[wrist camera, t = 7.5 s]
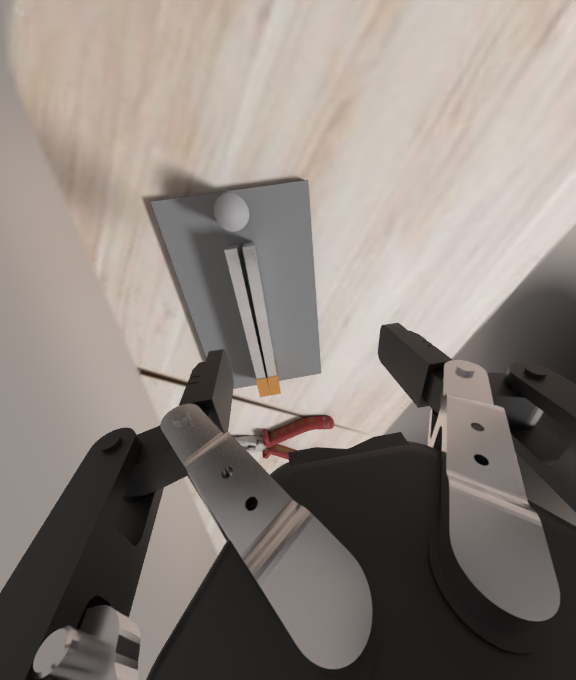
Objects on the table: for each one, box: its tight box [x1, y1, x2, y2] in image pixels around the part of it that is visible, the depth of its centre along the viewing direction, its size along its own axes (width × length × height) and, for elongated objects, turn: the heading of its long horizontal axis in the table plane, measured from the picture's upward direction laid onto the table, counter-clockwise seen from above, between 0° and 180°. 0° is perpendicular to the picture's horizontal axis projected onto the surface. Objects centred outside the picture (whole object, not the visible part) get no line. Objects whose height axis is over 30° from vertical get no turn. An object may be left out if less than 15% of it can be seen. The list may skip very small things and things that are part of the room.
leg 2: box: [242, 242, 281, 395], centre depth 29 cm, size 19×1×4 cm, turn 6°
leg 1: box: [224, 244, 270, 397], centre depth 29 cm, size 19×1×4 cm, turn 7°
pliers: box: [234, 416, 334, 459], centre depth 43 cm, size 12×20×3 cm, turn 86°
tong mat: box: [151, 180, 321, 389], centre depth 28 cm, size 25×16×6 cm, turn 7°
